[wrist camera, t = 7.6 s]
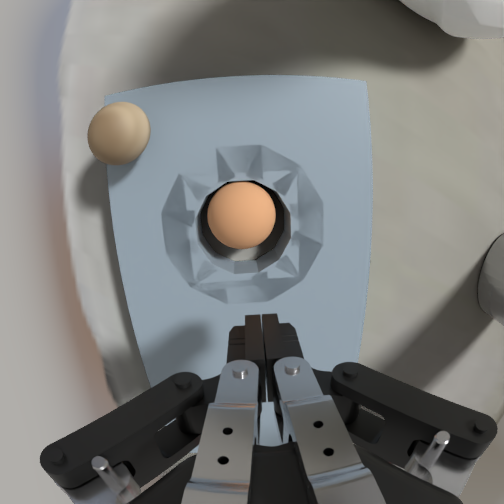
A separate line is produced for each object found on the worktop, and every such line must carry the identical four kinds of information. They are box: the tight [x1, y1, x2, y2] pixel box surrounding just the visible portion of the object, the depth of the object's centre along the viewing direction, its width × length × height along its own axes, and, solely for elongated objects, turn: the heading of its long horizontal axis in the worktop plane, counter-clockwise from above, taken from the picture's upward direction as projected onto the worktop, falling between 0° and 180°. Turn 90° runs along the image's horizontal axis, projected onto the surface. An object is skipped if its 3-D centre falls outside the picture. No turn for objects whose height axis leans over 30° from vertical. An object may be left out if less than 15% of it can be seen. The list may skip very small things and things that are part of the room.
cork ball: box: [88, 102, 151, 165], centre depth 13 cm, size 4×4×4 cm
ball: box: [207, 181, 276, 249], centre depth 17 cm, size 4×4×4 cm
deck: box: [105, 75, 373, 453], centre depth 20 cm, size 30×16×2 cm, turn 3°
